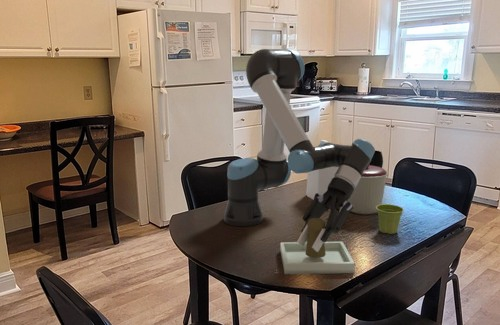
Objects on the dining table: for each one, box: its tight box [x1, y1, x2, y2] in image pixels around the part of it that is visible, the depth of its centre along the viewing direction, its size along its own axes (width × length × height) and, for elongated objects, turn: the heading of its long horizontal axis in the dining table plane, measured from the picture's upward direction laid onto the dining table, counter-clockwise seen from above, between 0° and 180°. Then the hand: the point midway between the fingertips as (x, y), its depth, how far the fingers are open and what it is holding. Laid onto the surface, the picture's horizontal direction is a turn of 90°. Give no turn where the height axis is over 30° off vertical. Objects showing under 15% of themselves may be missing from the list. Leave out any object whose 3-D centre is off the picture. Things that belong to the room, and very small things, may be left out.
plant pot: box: [376, 203, 405, 235], centre depth 156 cm, size 9×9×9 cm
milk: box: [305, 139, 339, 201], centre depth 195 cm, size 12×12×26 cm
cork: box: [306, 217, 326, 258], centre depth 131 cm, size 6×6×11 cm
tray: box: [279, 241, 356, 275], centre depth 132 cm, size 20×16×3 cm
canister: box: [348, 163, 389, 215], centre depth 177 cm, size 18×18×21 cm
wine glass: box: [370, 150, 384, 168], centre depth 199 cm, size 10×10×20 cm
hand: (307, 246), depth 129 cm, fingers closed on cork, 5 cm apart
